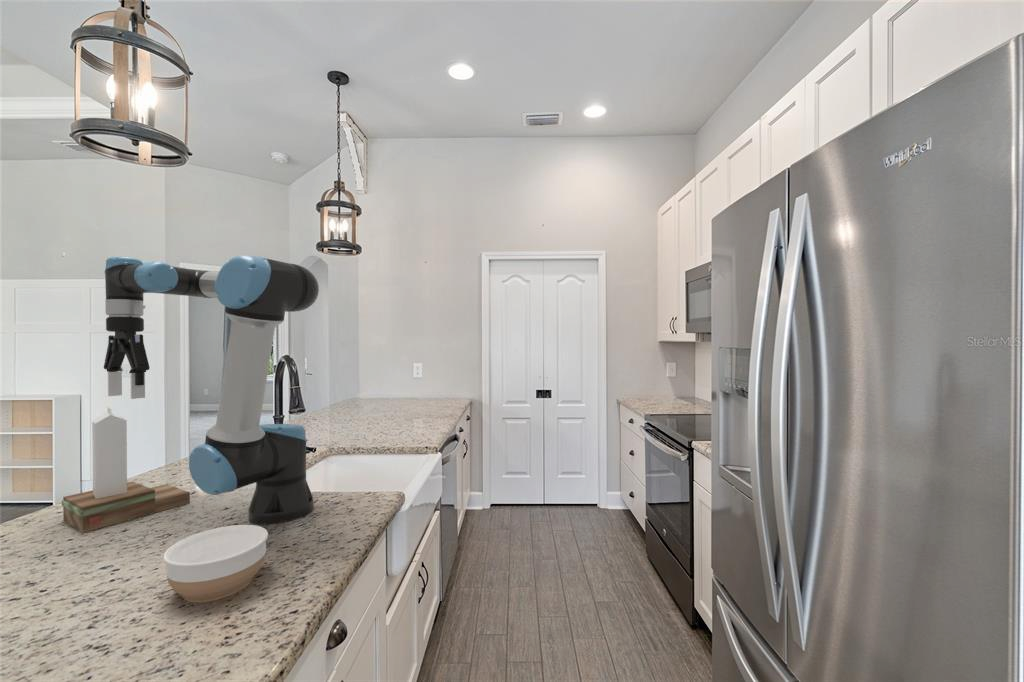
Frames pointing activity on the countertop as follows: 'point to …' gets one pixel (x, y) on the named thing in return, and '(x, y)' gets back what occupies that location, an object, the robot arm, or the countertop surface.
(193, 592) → the bowl
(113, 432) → the milk
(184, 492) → the stand
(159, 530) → the countertop surface
